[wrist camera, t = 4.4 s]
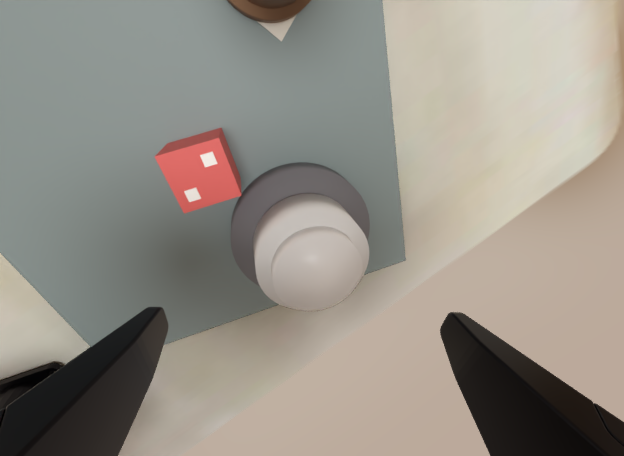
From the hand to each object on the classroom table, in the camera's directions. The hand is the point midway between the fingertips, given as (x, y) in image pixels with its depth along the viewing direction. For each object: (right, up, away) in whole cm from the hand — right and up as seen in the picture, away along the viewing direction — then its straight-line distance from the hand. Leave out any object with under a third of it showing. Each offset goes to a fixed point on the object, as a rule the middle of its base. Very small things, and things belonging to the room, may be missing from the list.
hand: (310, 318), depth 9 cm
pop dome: (0, +2, +9) cm, 9 cm away
